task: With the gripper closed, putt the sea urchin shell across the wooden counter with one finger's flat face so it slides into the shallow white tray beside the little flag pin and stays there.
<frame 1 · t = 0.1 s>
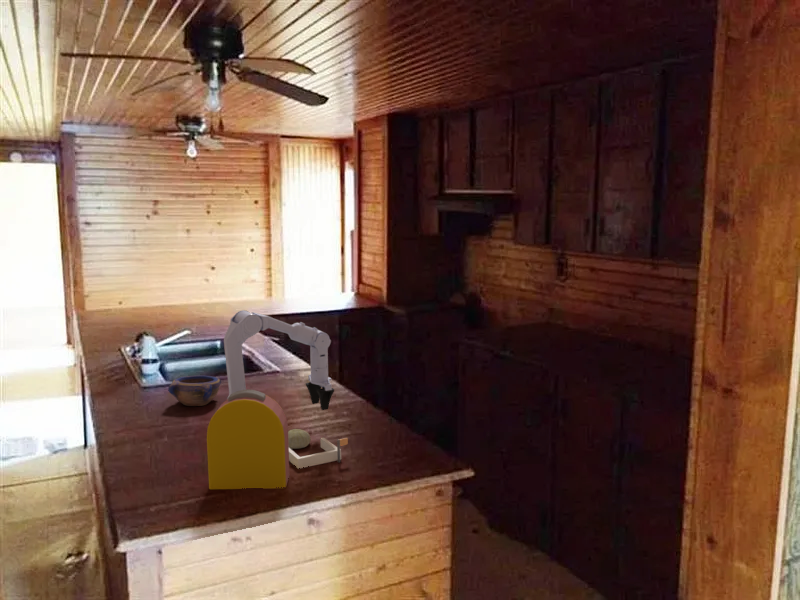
hand: (320, 406, 225), 10 cm above the counter, tool pointing down, fingers open, 7 cm apart
sea urchin shell: (296, 445, 217), on the counter
yellow arched block: (250, 482, 189), on the counter
shallow white tray: (310, 456, 207), on the counter
bowl: (197, 403, 262), on the counter
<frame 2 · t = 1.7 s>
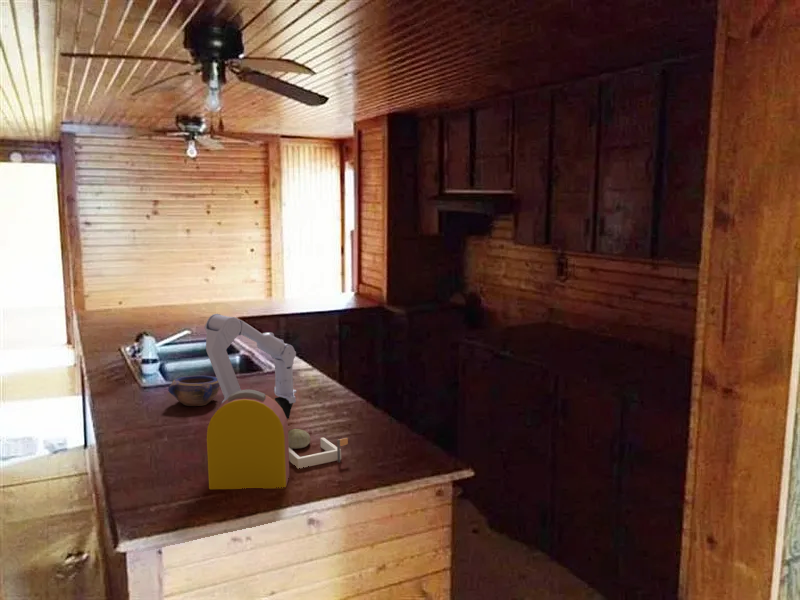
hand: (285, 418, 224), 6 cm above the counter, tool pointing down, fingers closed
nothing on the counter moved.
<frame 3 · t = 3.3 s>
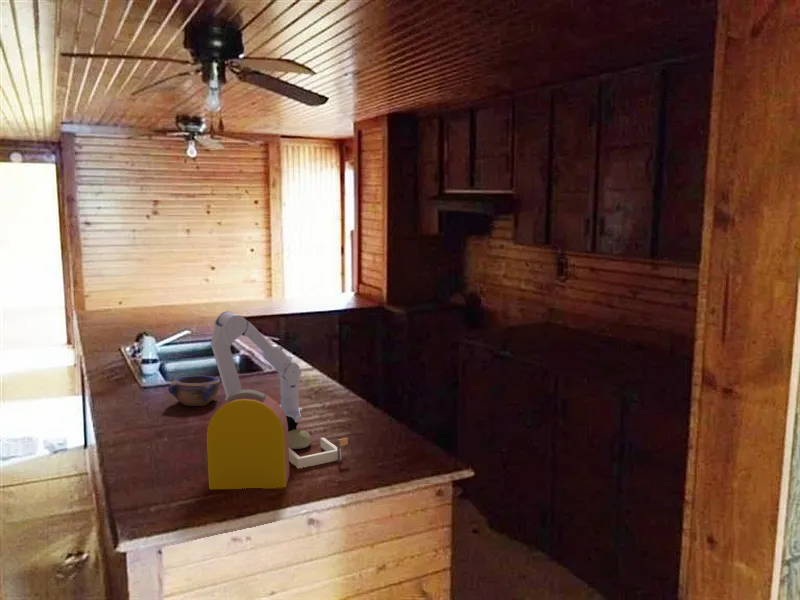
hand: (290, 437, 221), 1 cm above the counter, tool pointing down, fingers closed
sea urchin shell: (297, 446, 217), on the counter, touching gripper
everything else where it was.
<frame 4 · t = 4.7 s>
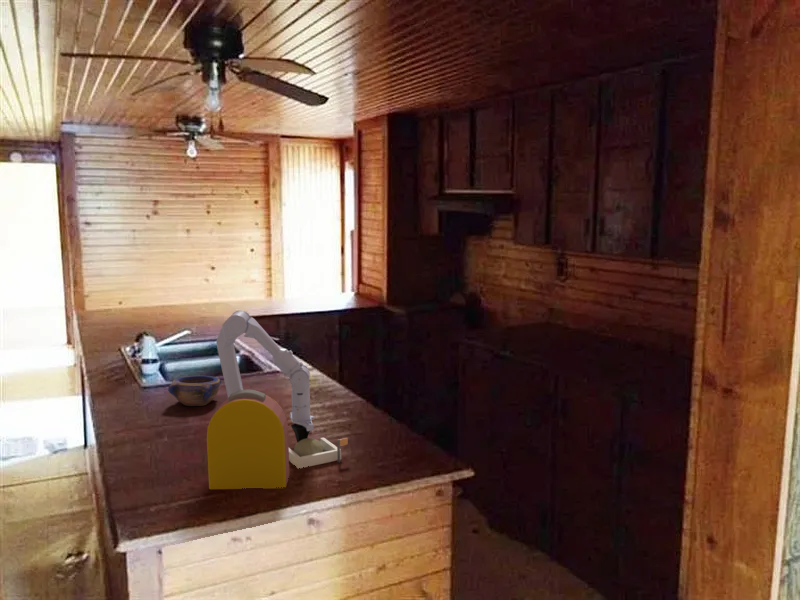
hand: (301, 446, 213), 1 cm above the counter, tool pointing down, fingers closed
sea urchin shell: (309, 455, 208), resting in shallow white tray, touching gripper
everything else where it was.
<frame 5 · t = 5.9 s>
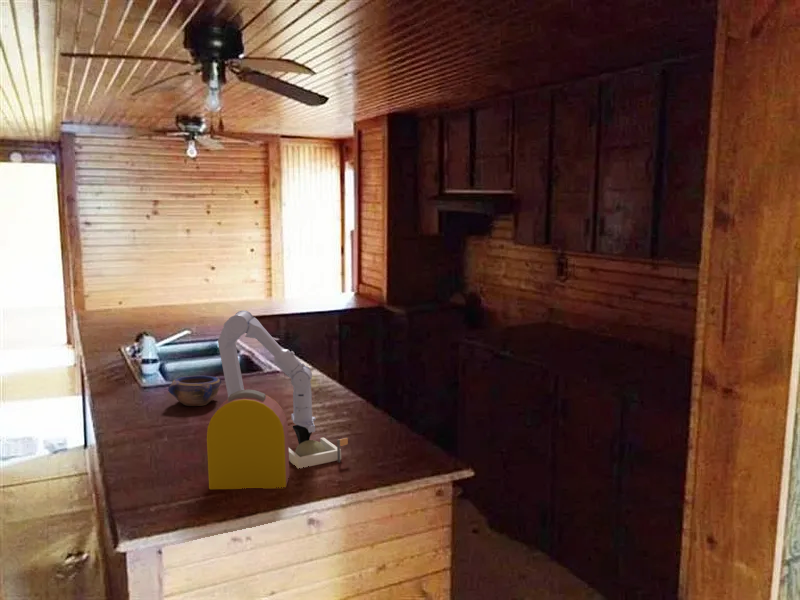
hand: (303, 447, 212), 1 cm above the counter, tool pointing down, fingers closed
sea urchin shell: (310, 457, 207), resting in shallow white tray
everything else where it was.
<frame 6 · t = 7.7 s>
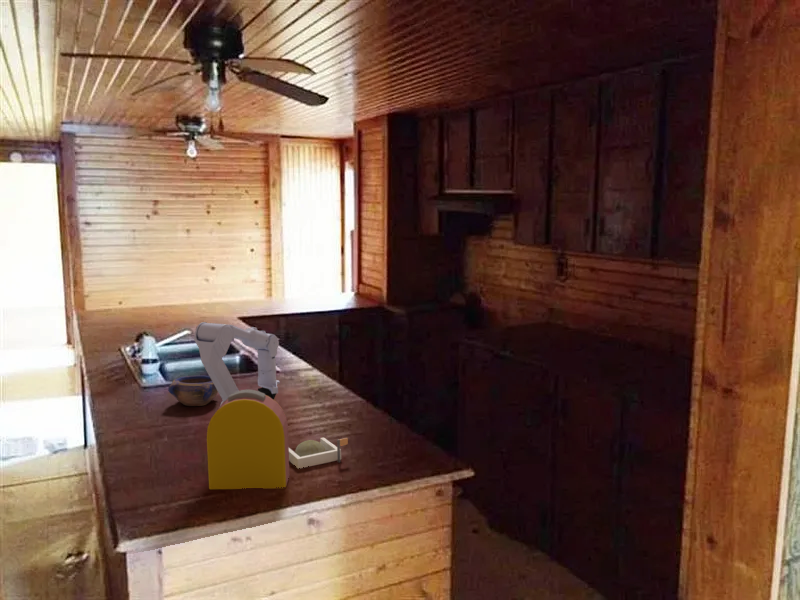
hand: (268, 409, 223), 9 cm above the counter, tool pointing down, fingers closed
nothing on the counter moved.
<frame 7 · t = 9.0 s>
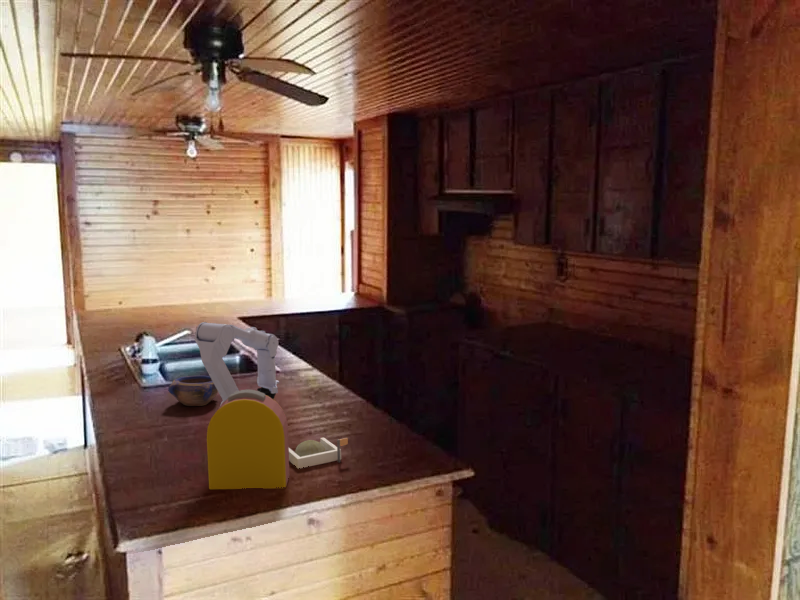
hand: (267, 409, 223), 9 cm above the counter, tool pointing down, fingers closed
nothing on the counter moved.
at the end: sea urchin shell inside the target area on the shallow white tray (0.6 cm from its centre), point 0.0 cm above the shallow white tray's base; sea urchin shell moved 11.7 cm from its start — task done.
